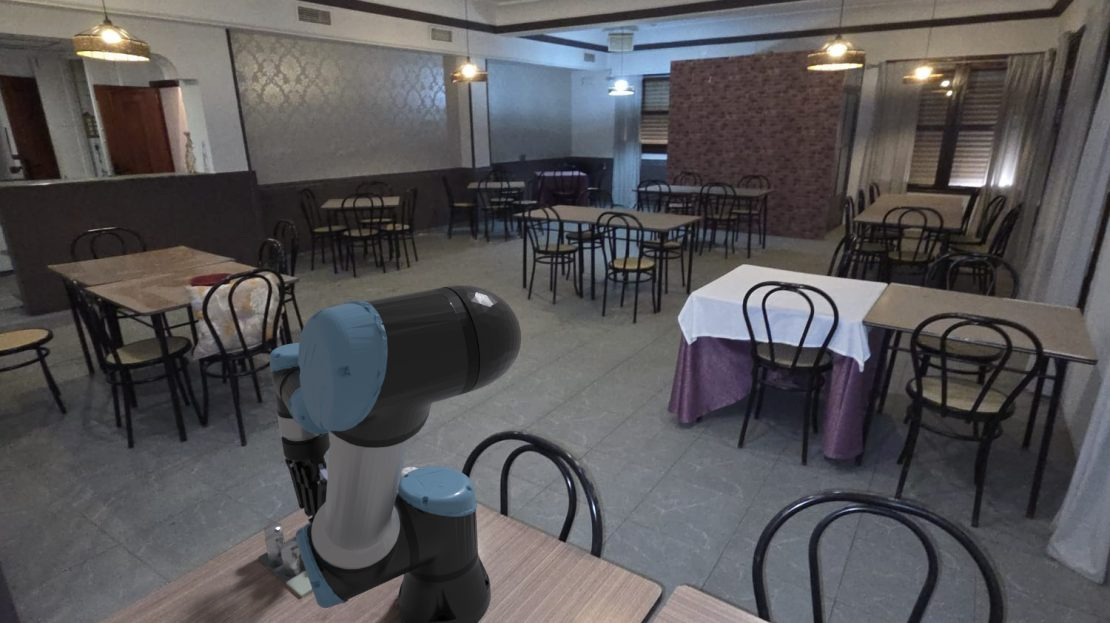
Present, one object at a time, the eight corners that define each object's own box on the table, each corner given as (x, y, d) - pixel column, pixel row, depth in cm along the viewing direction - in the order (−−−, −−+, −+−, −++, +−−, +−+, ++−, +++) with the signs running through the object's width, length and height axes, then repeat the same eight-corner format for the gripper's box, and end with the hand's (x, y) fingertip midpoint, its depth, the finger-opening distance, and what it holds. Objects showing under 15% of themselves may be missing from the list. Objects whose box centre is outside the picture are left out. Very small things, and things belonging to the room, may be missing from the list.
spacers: (363, 534, 113) (360, 512, 111) (287, 580, 101) (283, 556, 100) (332, 514, 119) (329, 493, 118) (257, 555, 108) (253, 532, 106)
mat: (381, 546, 110) (381, 544, 110) (302, 597, 98) (301, 594, 98) (336, 516, 119) (336, 513, 119) (258, 559, 107) (258, 557, 107)
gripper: (345, 433, 100) (359, 549, 107) (304, 412, 108) (320, 521, 115) (304, 452, 94) (322, 572, 101) (264, 428, 102) (283, 541, 109)
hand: (321, 545), depth 108 cm, fingers closed
